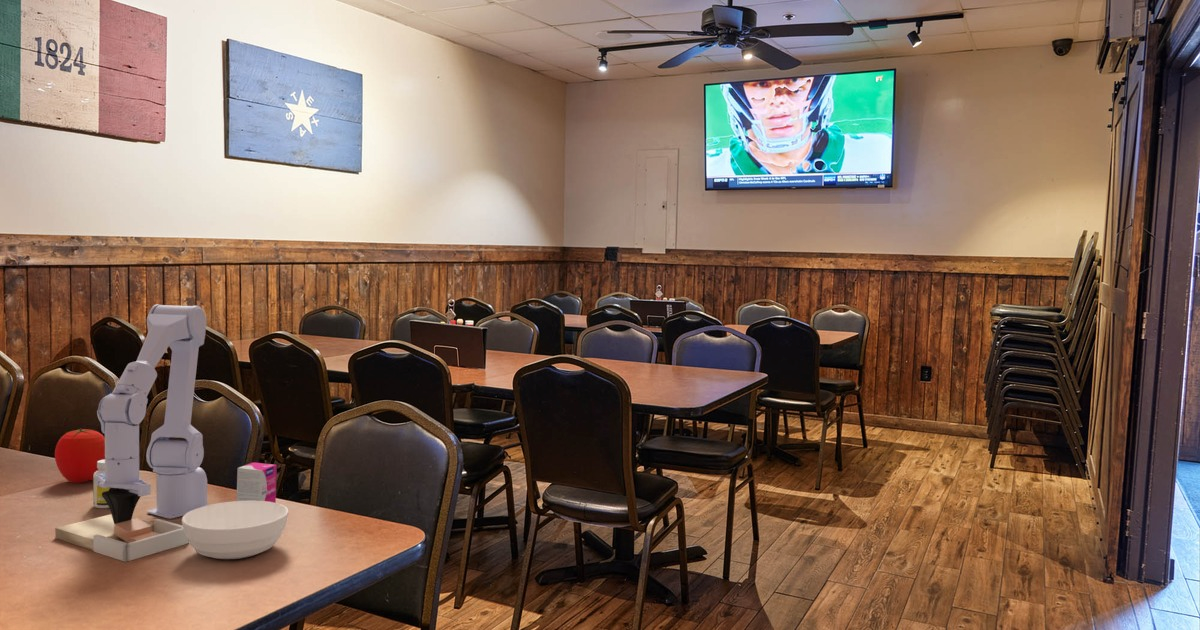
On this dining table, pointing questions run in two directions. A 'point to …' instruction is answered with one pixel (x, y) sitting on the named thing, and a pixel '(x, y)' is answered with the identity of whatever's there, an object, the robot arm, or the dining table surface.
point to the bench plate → (89, 531)
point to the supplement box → (256, 482)
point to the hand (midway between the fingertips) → (122, 527)
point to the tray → (142, 542)
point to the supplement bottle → (97, 491)
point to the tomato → (79, 454)
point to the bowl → (234, 528)
